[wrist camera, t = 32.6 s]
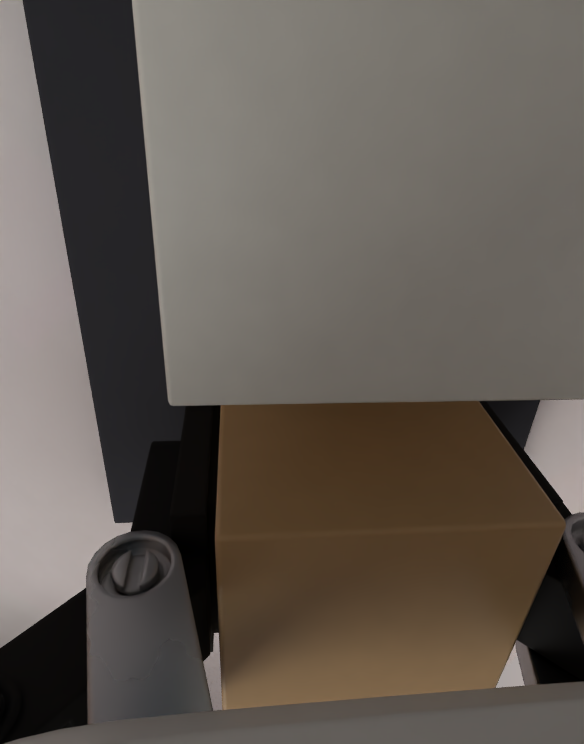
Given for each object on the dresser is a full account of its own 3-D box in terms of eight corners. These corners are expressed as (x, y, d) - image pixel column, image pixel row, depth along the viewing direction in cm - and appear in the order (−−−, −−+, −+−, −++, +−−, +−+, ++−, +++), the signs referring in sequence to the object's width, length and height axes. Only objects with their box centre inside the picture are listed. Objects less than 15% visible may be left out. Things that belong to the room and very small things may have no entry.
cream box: (174, -122, 7) (97, -366, 3) (560, -87, 8) (907, -259, 4) (195, 273, 10) (167, 408, 6) (476, 275, 10) (623, 400, 6)
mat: (9, -136, 7) (-6, -150, 7) (680, -78, 8) (705, -86, 8) (118, 509, 13) (113, 524, 13) (496, 495, 14) (504, 508, 14)
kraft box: (223, 344, 10) (214, 538, 6) (438, 342, 11) (570, 524, 7) (227, 506, 13) (223, 732, 8) (405, 500, 13) (488, 711, 9)
